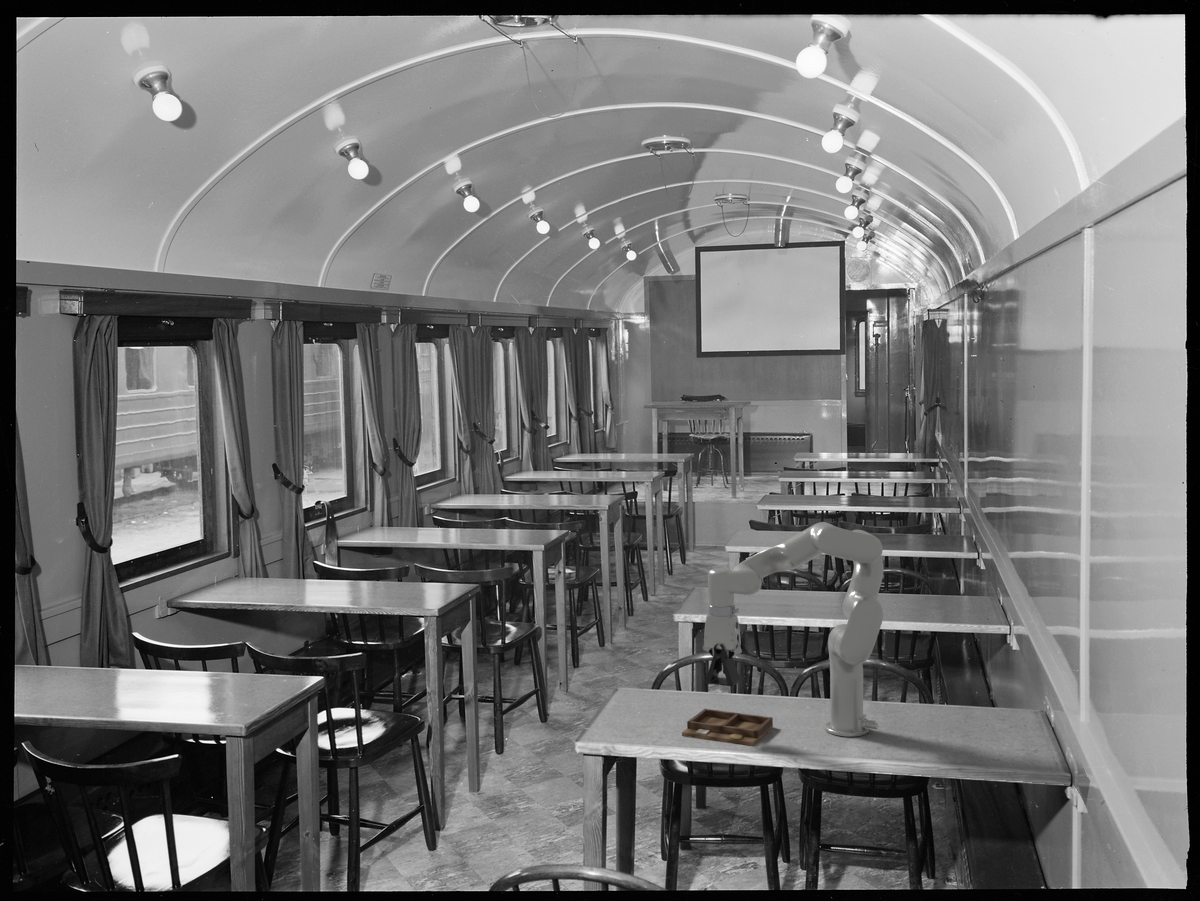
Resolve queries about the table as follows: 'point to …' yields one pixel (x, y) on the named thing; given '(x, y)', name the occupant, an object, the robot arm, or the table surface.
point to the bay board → (728, 726)
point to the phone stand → (728, 667)
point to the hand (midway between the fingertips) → (722, 672)
